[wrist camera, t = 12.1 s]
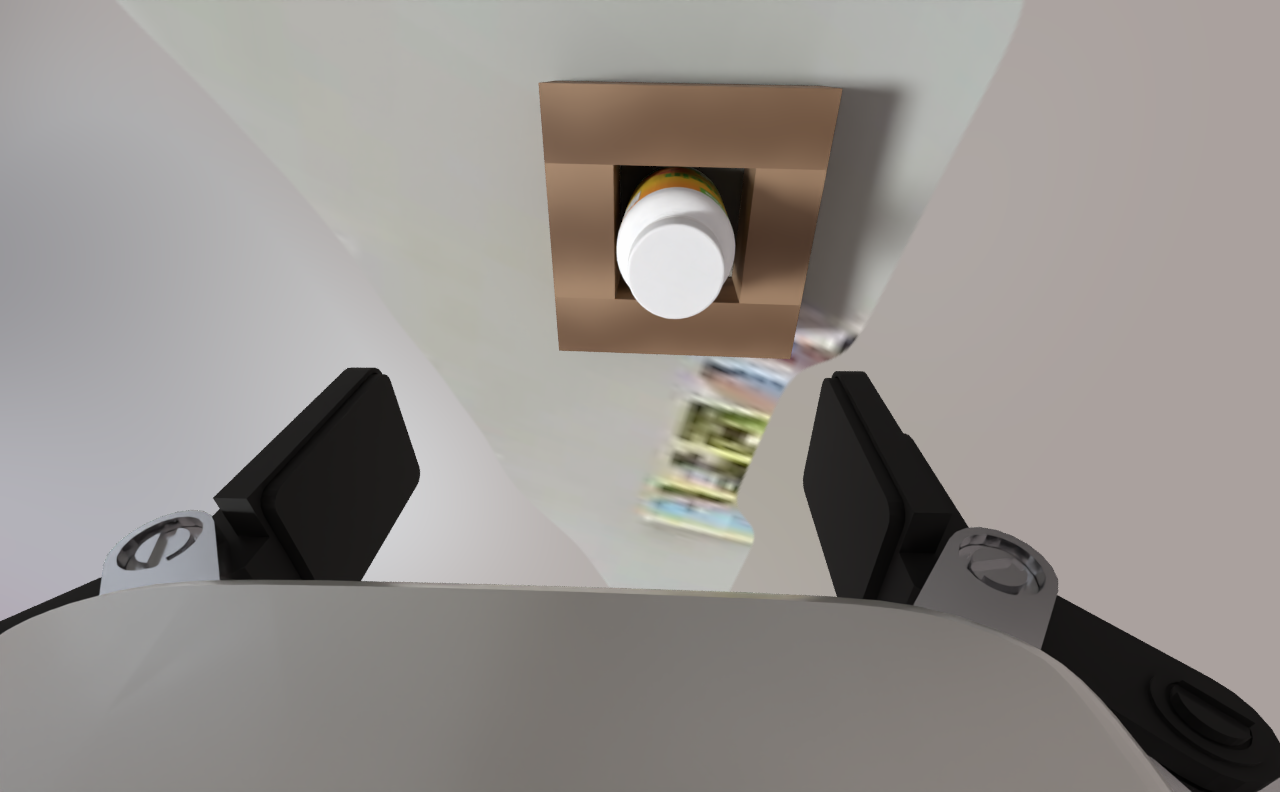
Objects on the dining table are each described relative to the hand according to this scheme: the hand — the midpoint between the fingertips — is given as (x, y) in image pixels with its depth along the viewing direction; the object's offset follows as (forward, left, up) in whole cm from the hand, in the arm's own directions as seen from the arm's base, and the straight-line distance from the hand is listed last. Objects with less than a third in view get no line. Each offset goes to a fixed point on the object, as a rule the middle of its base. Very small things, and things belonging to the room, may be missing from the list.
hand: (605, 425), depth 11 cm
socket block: (+1, +2, -21) cm, 21 cm away
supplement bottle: (0, +2, -21) cm, 21 cm away
